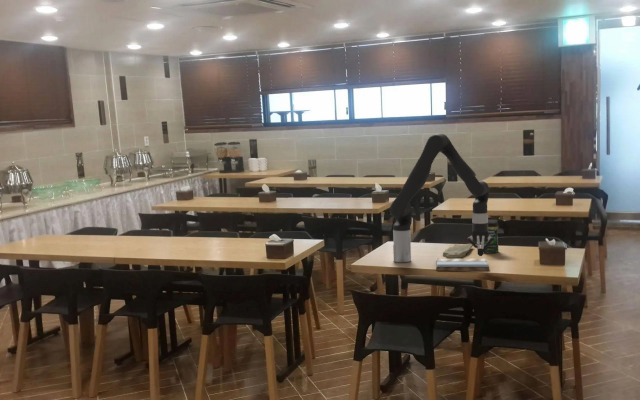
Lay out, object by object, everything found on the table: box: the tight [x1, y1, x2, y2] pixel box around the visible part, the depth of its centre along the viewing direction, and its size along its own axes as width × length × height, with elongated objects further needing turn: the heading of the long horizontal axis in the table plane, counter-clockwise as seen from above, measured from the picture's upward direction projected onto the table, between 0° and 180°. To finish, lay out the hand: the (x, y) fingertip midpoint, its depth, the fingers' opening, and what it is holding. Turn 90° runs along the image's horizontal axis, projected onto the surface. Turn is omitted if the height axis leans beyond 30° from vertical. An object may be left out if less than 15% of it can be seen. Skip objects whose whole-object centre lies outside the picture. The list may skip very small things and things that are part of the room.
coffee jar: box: [483, 219, 500, 254], centre depth 347 cm, size 10×8×19 cm
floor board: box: [435, 258, 490, 272], centre depth 316 cm, size 26×16×3 cm, turn 80°
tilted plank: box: [436, 260, 489, 267], centre depth 313 cm, size 25×8×1 cm, turn 80°
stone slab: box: [442, 243, 474, 259], centre depth 349 cm, size 12×4×30 cm
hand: (480, 255), depth 308 cm, fingers closed
